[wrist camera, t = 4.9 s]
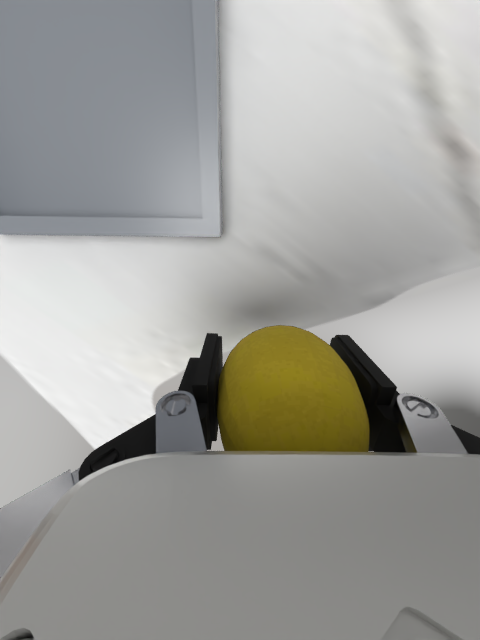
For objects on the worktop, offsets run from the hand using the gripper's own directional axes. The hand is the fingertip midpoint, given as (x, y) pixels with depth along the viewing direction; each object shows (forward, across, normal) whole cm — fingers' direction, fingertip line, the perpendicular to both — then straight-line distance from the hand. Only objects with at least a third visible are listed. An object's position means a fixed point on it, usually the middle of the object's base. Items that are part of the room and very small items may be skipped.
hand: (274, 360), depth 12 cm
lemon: (+2, 0, 0) cm, 2 cm away
